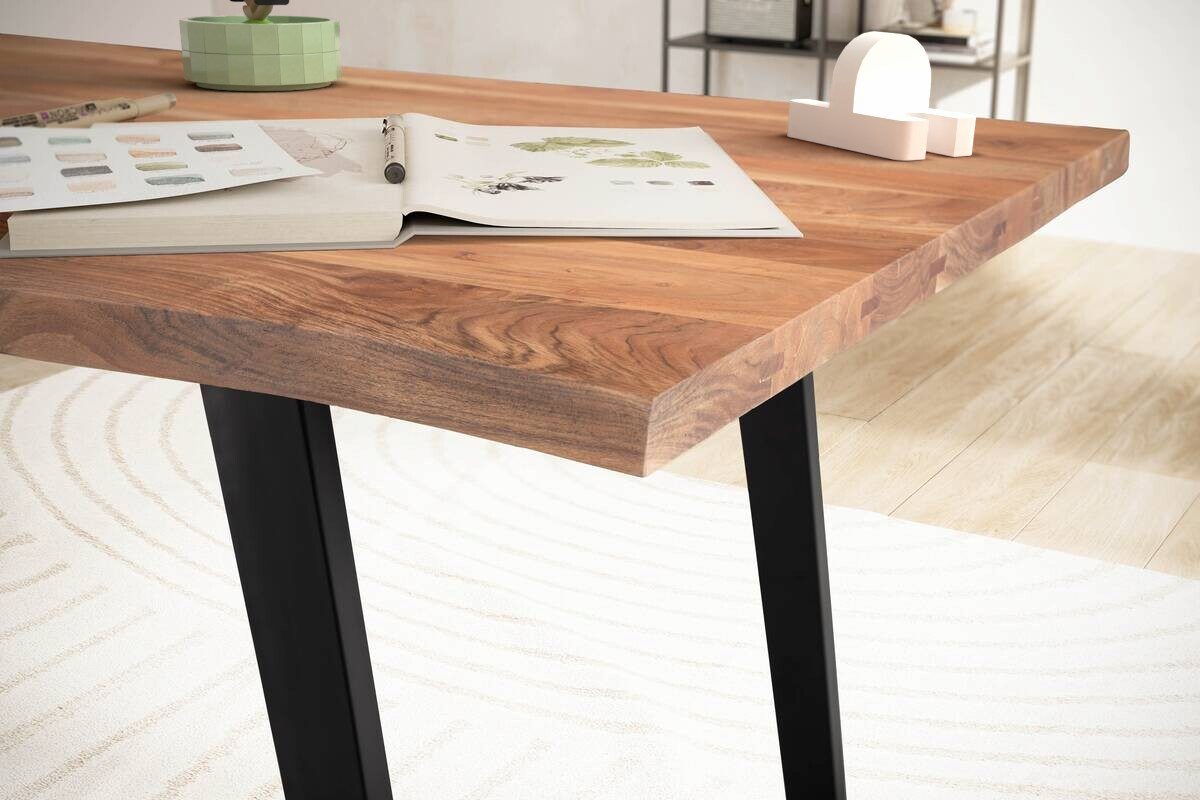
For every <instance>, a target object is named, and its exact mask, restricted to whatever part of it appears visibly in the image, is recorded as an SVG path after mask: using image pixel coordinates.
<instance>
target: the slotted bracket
mask: <svg viewBox="0 0 1200 800" xmlns="http://www.w3.org/2000/svg"><path fill="white" fill-rule="evenodd" d="M931 86H932V69H931V63H930V59H929V56H928V54H927V52H926V50H925V48H924V46H923V45H922V44H921V43H920V42H919V41H918V40H917V39H916V38H914V37H912V36H910V35H908V34H903V33H897V32H896V33H895V32H885V31H877V30H876V31H875V30H874V31H867V32H864V33H861V34H859V35H857V36H856V37H854V38H853V39H852V40H851V41H850V42H848V44H847V45H845V47H844V48H843V50H842V51H841V52H840V55H839V56H838V57H837V60H836V63H835V65H834V67H833V71H832V76H831V82H830V94H829V101H823V100H816V99H812V98H798V99H789V103H788V105H789V106H788V118H787V119H788V121H787V137H788V138H793V139H796V140H797V139H798V140H801V141H806V142H810V143H815V144H821V145H823V146H824V145H825V146H829V147H834V148H839V149H843V150H848V151H853V152H857V153H862V154H867V155H871V156H875V157H879V158H884V159H890V160H894V161H920V160H926V153H927V152H928V153H932V154H938V155H943V156H948V157H952V158H956V157H957V158H959V157H967V156H968V157H969V156H972V153H973V148H974V147H973V146H974V137H975V127H976V121H977V116H976V115H973V114H967V113H961V112H954V111H948V110H941V109H936V108H930V107H929V106H930V98H931V97H930V96H931Z"/></svg>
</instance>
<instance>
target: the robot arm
mask: <svg viewBox="0 0 1200 800" xmlns="http://www.w3.org/2000/svg"><path fill="white" fill-rule="evenodd" d="M229 1H230V2H232V3H245V1H244V0H229ZM254 2H255V4H257V5H273V6H287V5H289V4H290V0H254Z"/></svg>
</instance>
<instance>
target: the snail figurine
mask: <svg viewBox="0 0 1200 800" xmlns="http://www.w3.org/2000/svg"><path fill="white" fill-rule="evenodd" d="M244 1H245V2H244V3H245V4H244V5H242V11H243V15H245V16H246V17H247V18H248V19H249V20H246V21H244V22H242V23H272V22H271V21H268V20H265V18H266V17H267V16H268V15H271V13H272V12H273V9H274V5H257V4H255V2H254V0H244Z"/></svg>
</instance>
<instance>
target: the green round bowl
mask: <svg viewBox="0 0 1200 800" xmlns="http://www.w3.org/2000/svg"><path fill="white" fill-rule="evenodd" d="M246 20H249V19H248V18H247V17H246V16H245V14H228V15H227V14H226V15H225V14H224V15H222V14H221V15H199V16H186V17H180V18H179V20H178V23H179V32H180V33H179V34H180V35H179V36H180V44H181V45H180V47H181V56H182V66H183V67H182V68H183V79H184V80H185V81H188V82H192V83H195V85H196V86H197V87H199V88H203V89H210V90H218V91H234V92H287V91H304V90H314V89H320V88H325V87H329V86H331V85H332V82H336V81H339V80H340V79H342V78H343V70H342V67H343V66H342V49H341V48H342V46H341V28H340V25H341V24H340V20H339V19H338V18H333V17H325V16H311V15H288V14H287V15H286V14H285V15H281V14H278V15H277V14H269V15H268V16H267V17H266V18H265V20H268V21H271V22H272V23H242V22H244V21H246Z"/></svg>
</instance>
